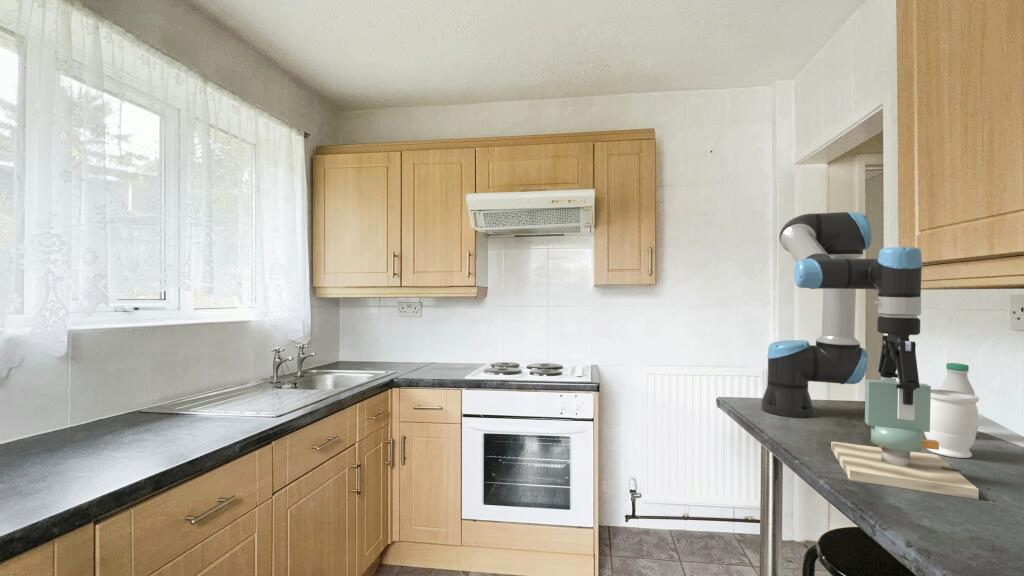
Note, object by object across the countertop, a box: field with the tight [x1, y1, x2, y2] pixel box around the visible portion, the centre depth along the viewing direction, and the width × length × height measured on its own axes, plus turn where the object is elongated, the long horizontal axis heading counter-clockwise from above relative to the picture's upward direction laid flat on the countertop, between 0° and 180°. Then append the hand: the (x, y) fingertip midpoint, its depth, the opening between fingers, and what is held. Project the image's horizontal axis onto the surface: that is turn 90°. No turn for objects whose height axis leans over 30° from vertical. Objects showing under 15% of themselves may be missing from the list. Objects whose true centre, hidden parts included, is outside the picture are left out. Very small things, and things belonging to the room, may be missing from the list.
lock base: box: [830, 441, 980, 500], centre depth 108 cm, size 22×22×6 cm
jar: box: [923, 388, 980, 459], centre depth 120 cm, size 11×10×15 cm
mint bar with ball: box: [864, 378, 939, 452], centre depth 107 cm, size 9×13×14 cm
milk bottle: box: [938, 362, 976, 396], centre depth 135 cm, size 8×8×20 cm
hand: (896, 412), depth 108 cm, fingers open, 12 cm apart
